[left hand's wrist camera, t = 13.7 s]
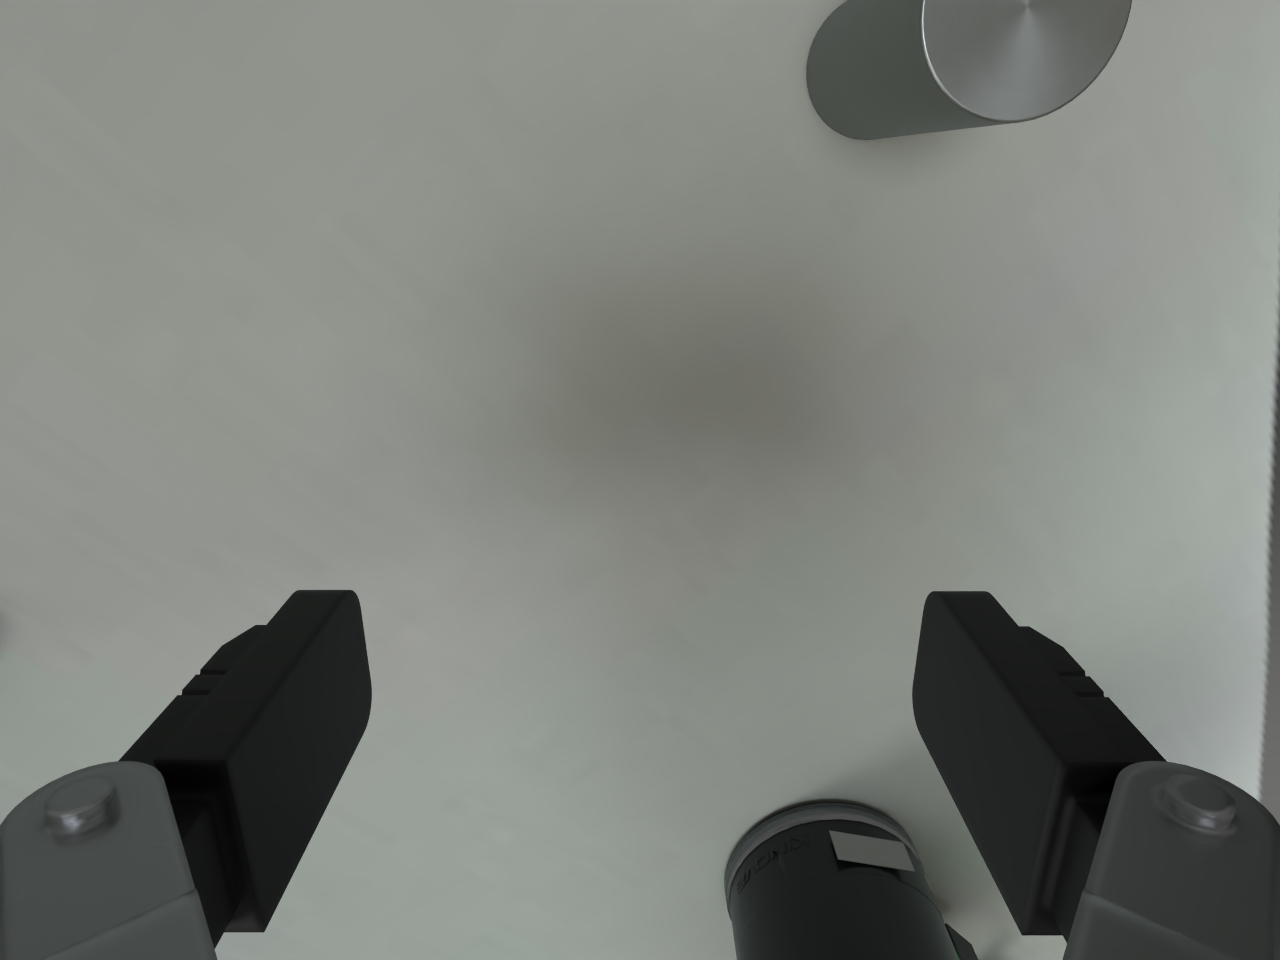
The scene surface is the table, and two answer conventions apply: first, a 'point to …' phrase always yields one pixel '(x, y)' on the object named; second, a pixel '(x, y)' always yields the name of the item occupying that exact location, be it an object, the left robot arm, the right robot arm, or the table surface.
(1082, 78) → the can
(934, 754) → the left robot arm
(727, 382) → the table surface
